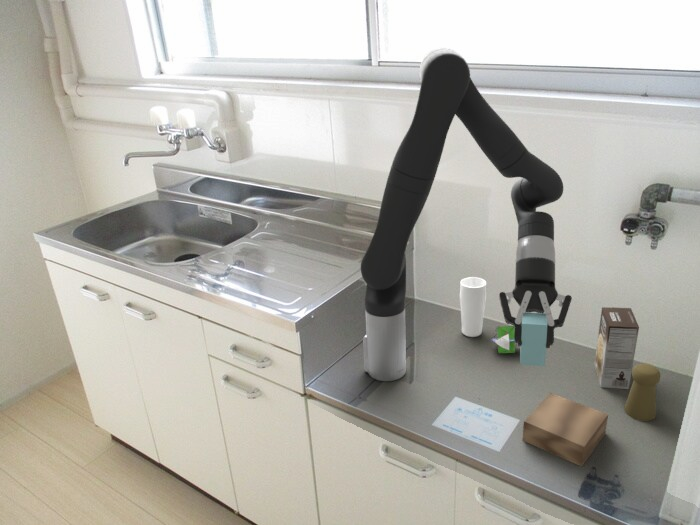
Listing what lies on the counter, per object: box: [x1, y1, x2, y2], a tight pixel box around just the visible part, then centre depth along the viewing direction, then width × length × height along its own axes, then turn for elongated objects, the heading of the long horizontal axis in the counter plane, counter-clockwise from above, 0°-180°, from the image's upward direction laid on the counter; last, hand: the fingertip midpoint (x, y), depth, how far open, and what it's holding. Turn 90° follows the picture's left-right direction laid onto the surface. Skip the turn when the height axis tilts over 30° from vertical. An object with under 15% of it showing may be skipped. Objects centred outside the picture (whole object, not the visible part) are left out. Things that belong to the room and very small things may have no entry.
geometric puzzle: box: [490, 325, 520, 354], centre depth 148 cm, size 7×7×8 cm
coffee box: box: [594, 306, 640, 390], centre depth 134 cm, size 9×6×16 cm
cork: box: [623, 363, 661, 422], centre depth 123 cm, size 6×6×11 cm
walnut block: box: [522, 392, 609, 467], centre depth 118 cm, size 12×12×5 cm
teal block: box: [519, 312, 547, 367], centre depth 114 cm, size 4×4×9 cm
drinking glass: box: [459, 276, 487, 338], centre depth 156 cm, size 7×7×15 cm
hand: (533, 345), depth 112 cm, fingers closed on teal block, 4 cm apart
